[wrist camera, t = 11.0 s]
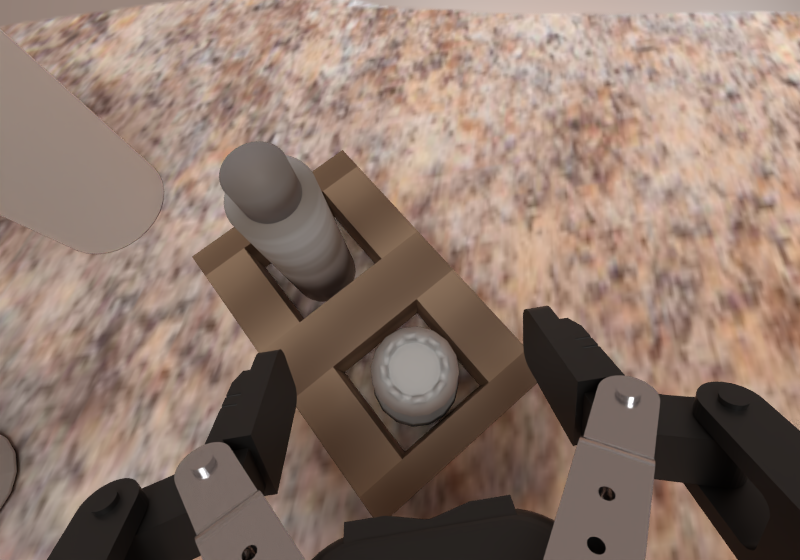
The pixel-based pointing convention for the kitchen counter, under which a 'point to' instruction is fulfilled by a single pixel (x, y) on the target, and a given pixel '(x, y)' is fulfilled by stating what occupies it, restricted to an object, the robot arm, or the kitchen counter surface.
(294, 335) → the holder
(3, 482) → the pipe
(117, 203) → the cylindrical container
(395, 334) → the rook chess piece
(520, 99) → the kitchen counter surface
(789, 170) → the kitchen counter surface
